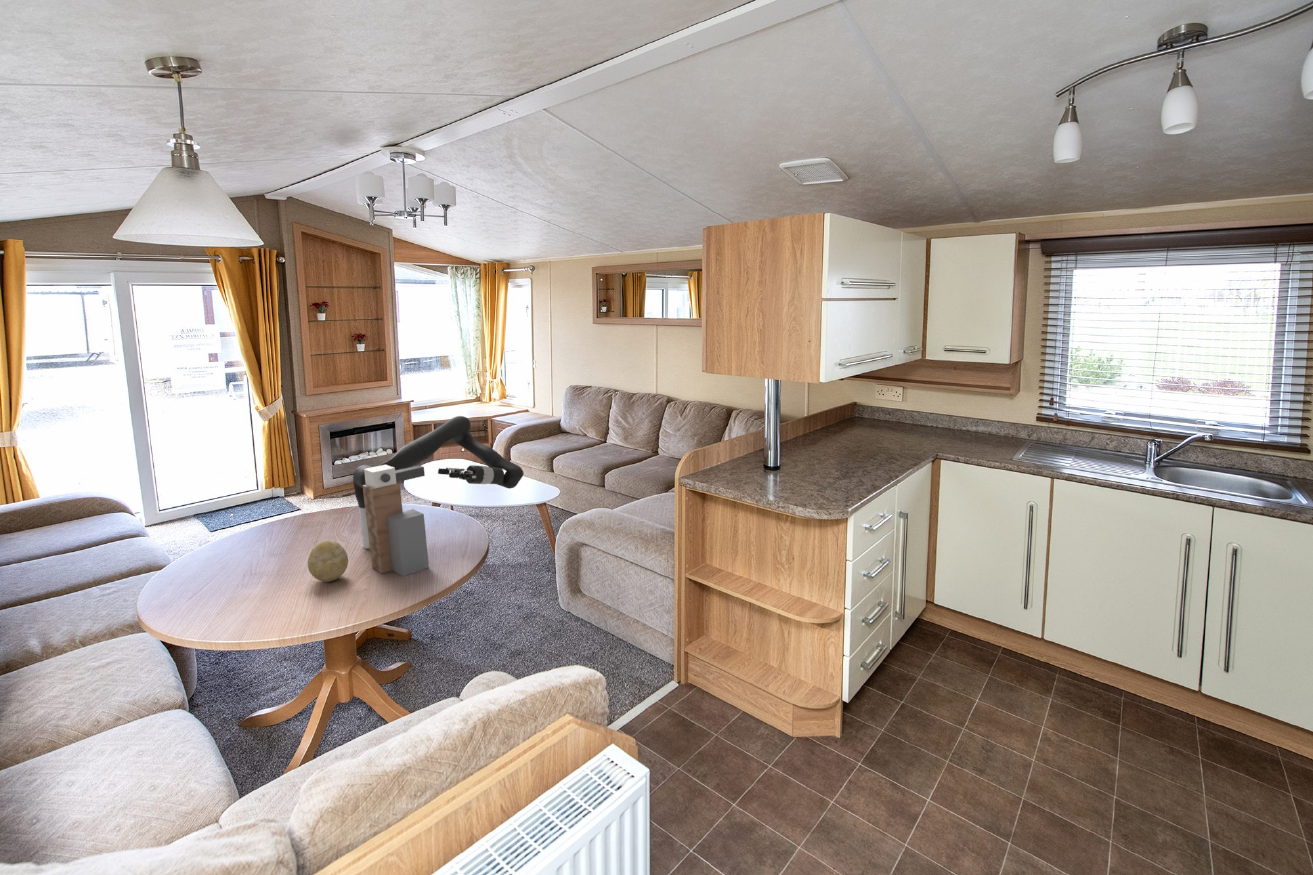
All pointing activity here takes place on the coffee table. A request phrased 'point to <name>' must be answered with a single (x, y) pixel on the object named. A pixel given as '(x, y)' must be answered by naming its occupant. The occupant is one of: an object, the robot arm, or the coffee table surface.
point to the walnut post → (381, 522)
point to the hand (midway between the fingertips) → (444, 473)
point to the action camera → (390, 475)
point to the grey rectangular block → (408, 542)
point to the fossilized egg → (327, 561)
